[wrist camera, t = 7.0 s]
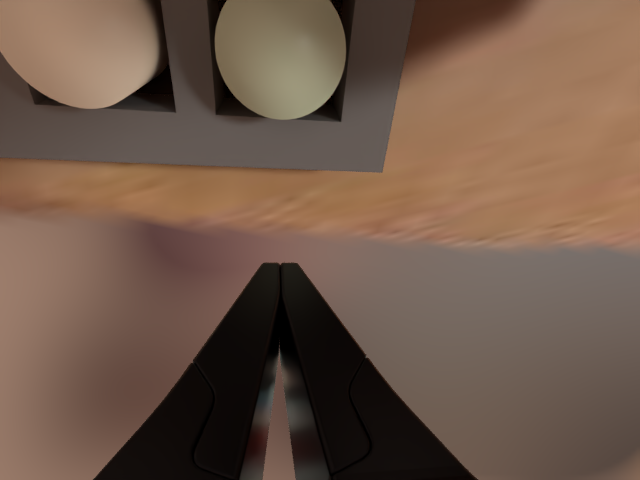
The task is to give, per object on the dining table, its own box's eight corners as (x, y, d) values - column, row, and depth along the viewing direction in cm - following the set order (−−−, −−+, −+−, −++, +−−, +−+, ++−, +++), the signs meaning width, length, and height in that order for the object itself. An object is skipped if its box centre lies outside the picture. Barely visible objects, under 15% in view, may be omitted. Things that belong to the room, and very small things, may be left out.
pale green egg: (335, -16, 15) (354, -20, 12) (325, 97, 18) (338, 122, 14) (225, -28, 15) (208, -36, 11) (232, 90, 17) (219, 116, 14)
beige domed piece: (164, -35, 14) (126, -45, 11) (180, 87, 17) (153, 112, 13) (39, -48, 14) (-47, -64, 10) (75, 80, 16) (17, 104, 13)
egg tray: (409, -92, 14) (437, -110, 12) (369, 150, 20) (382, 172, 17) (-327, -194, 11) (-500, -249, 9) (-129, 127, 17) (-199, 149, 14)
